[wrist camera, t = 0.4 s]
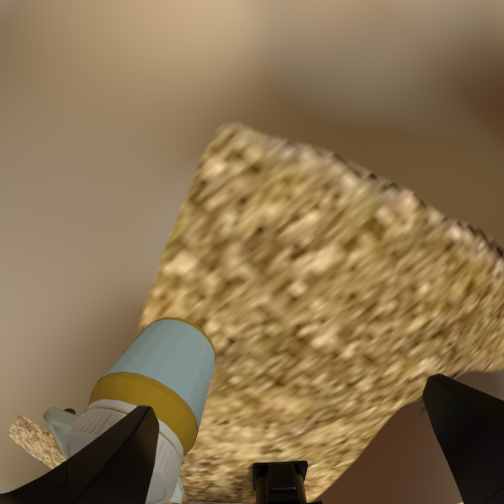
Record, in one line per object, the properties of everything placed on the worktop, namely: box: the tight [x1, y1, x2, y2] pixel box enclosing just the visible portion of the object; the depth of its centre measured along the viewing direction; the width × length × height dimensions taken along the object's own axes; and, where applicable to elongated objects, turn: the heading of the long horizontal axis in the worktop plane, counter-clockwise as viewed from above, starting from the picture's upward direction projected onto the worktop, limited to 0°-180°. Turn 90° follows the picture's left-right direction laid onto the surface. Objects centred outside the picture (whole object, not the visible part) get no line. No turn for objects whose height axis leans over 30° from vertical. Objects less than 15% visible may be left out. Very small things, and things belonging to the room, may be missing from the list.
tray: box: [43, 406, 185, 504], centre depth 24 cm, size 12×16×4 cm
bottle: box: [62, 317, 216, 504], centre depth 16 cm, size 7×7×15 cm
